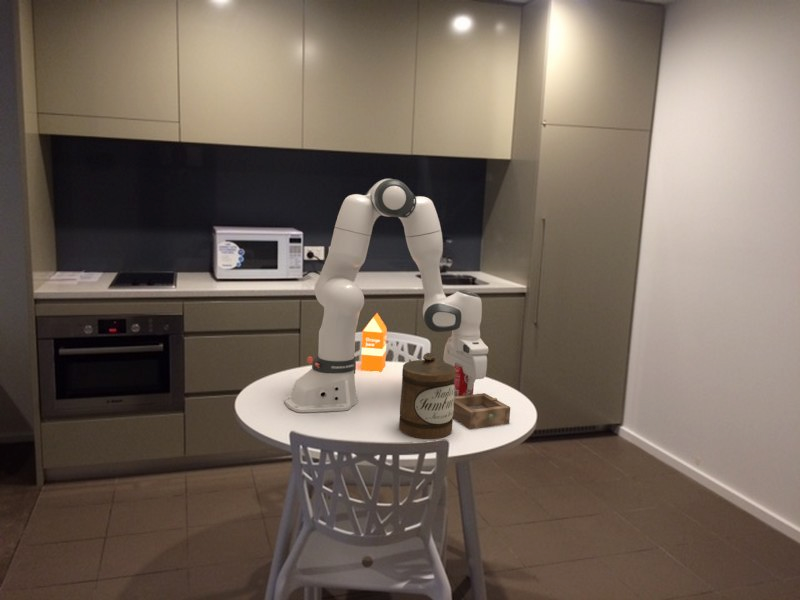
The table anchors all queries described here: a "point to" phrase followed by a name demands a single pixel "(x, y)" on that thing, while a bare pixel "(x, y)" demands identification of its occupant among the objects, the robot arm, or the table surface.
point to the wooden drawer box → (480, 411)
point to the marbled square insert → (477, 407)
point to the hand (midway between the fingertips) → (462, 384)
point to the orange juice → (374, 345)
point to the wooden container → (427, 398)
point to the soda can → (461, 382)
